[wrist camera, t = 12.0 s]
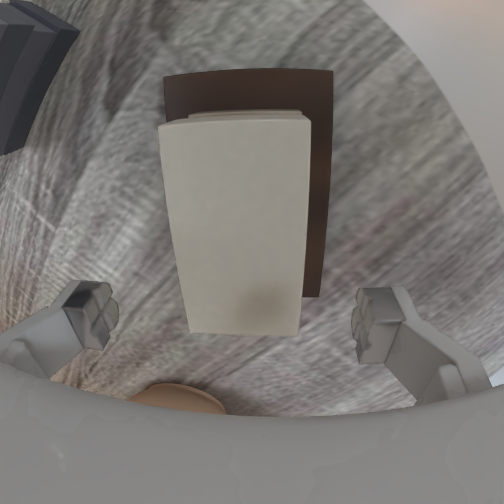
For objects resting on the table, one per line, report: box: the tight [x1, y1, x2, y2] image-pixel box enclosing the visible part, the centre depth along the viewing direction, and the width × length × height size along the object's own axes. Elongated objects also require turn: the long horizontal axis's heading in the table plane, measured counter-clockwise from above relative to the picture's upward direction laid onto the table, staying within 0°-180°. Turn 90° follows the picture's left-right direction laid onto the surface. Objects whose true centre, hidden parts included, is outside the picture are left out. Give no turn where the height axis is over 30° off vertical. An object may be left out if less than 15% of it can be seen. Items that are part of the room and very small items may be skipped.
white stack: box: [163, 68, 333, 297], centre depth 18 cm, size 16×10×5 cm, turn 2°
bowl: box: [127, 383, 228, 415], centre depth 31 cm, size 16×16×8 cm
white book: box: [157, 115, 311, 336], centre depth 14 cm, size 11×6×2 cm, turn 2°
